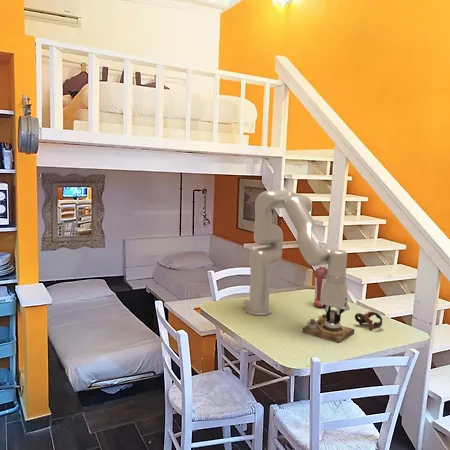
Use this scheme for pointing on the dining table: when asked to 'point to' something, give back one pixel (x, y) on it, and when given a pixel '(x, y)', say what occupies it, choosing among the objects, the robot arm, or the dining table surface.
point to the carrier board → (327, 330)
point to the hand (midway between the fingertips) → (332, 321)
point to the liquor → (319, 284)
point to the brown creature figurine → (366, 319)
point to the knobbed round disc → (332, 321)
